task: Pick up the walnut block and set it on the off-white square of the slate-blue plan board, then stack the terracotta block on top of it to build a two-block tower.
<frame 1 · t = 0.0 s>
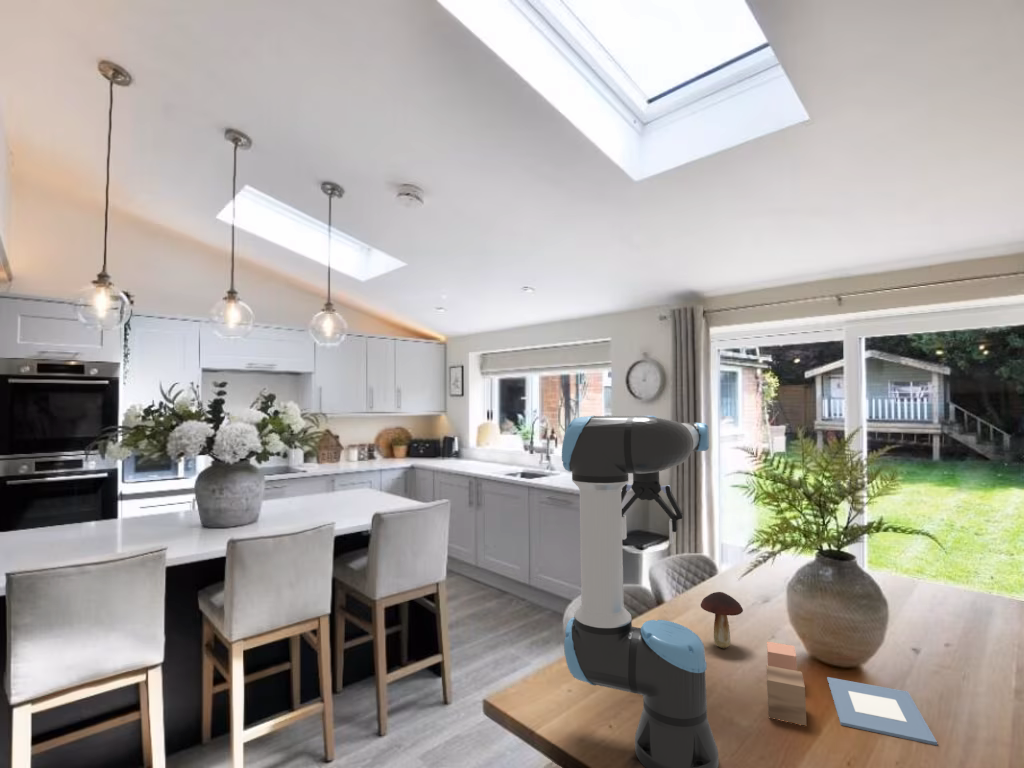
hand: (647, 540, 148), 28 cm above the table, tool pointing down, fingers open, 13 cm apart
walnut block: (786, 713, 110), on the table
decorative mushroom: (722, 648, 141), on the table
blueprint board: (876, 708, 111), on the table
terracotta block: (782, 682, 122), on the table
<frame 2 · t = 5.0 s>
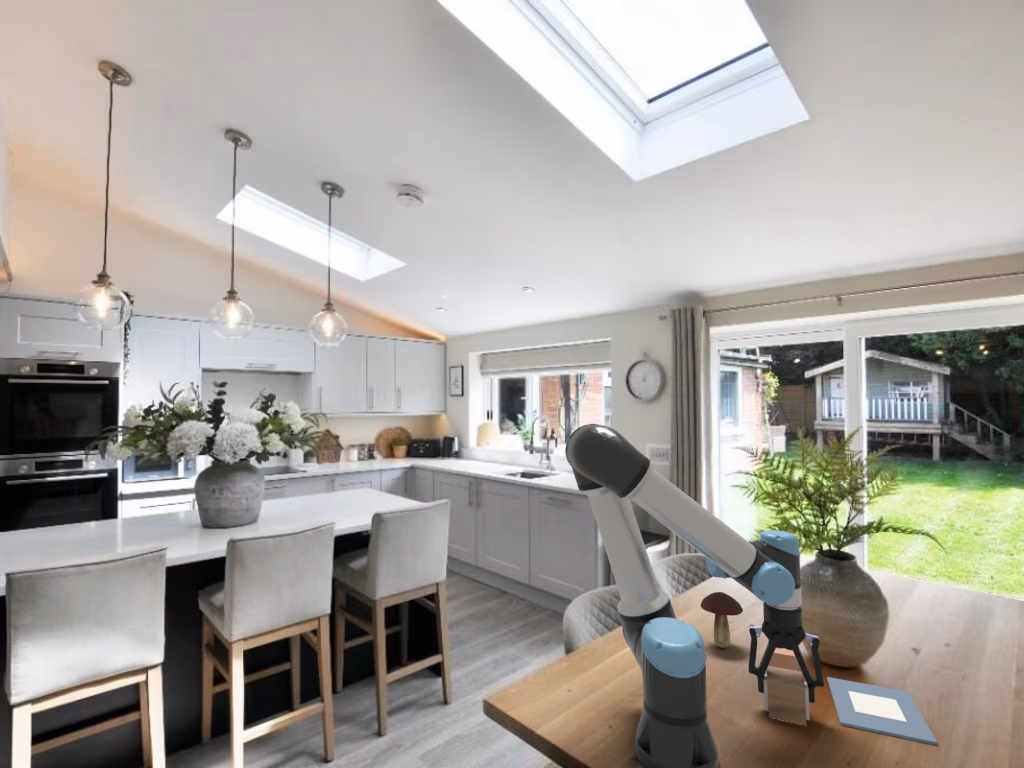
hand: (786, 712, 110), 0 cm above the table, tool pointing down, fingers closed on walnut block, 7 cm apart
walnut block: (786, 713, 110), on the table, touching gripper
everything else where it was.
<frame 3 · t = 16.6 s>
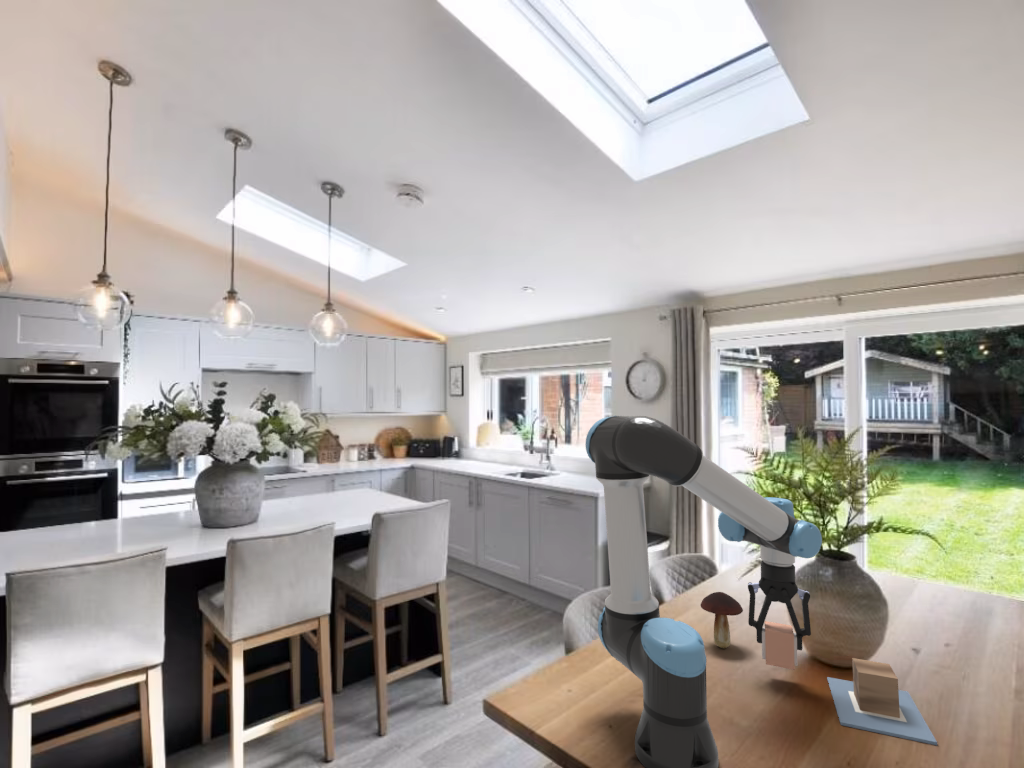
hand: (779, 659, 123), 5 cm above the table, tool pointing down, fingers closed on terracotta block, 6 cm apart
walnut block: (876, 705, 111), point 1 cm above the table, touching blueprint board
terracotta block: (779, 661, 122), point 5 cm above the table, touching gripper
everything else where it was.
when the fingers open (10 cm above the table, at t = 21.1 s): terracotta block stays where it is, resting on walnut block.
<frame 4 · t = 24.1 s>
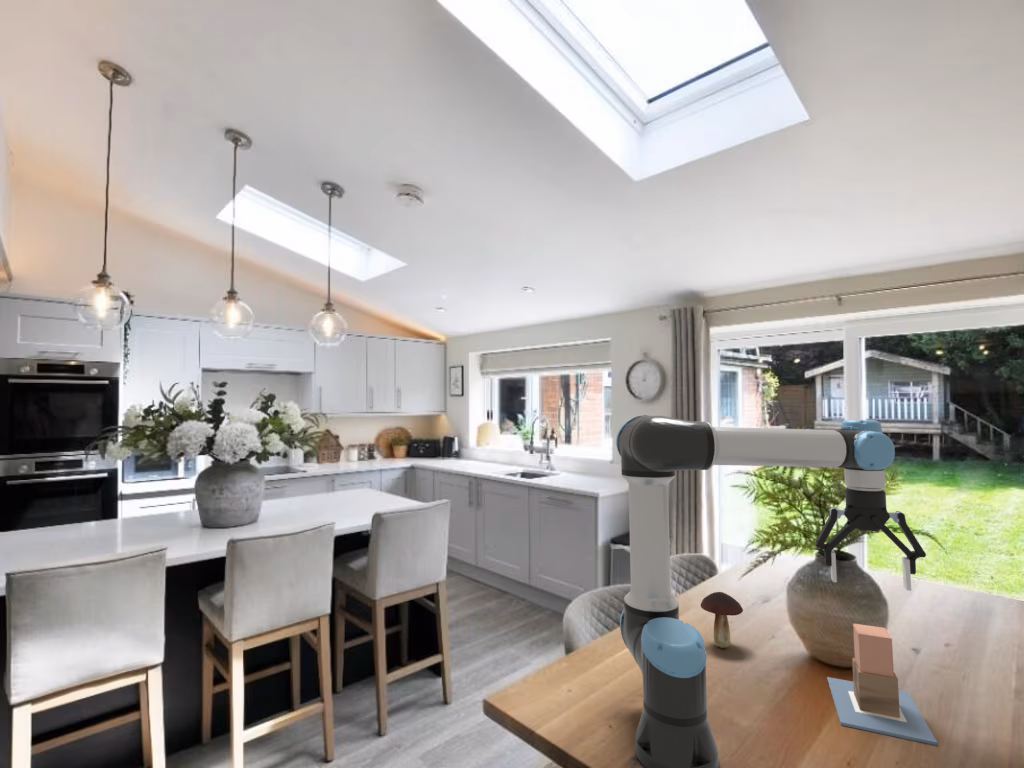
hand: (869, 584, 113), 27 cm above the table, tool pointing down, fingers open, 13 cm apart
walnut block: (876, 705, 111), point 1 cm above the table, touching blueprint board, terracotta block
terracotta block: (873, 668, 112), point 9 cm above the table, touching walnut block
everything else where it was.
at the end: walnut block 0.0 cm off-centre on the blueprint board, point 0.7 cm above the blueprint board's base; terracotta block 0.1 cm off-centre on the walnut block, point 8.0 cm above the walnut block's base; terracotta block tilted 0° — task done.
